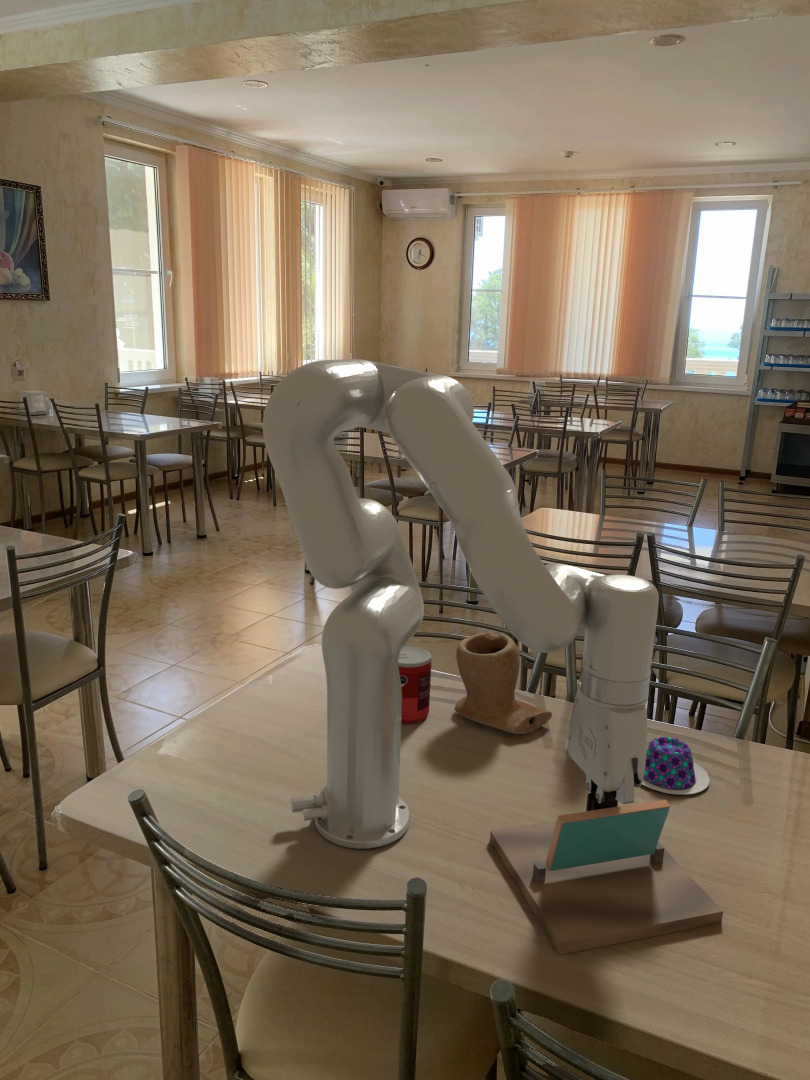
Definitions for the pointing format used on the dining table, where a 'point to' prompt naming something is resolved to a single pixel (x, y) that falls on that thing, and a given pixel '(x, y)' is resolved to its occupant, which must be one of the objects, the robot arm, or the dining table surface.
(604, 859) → the tile
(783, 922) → the dining table surface
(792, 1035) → the dining table surface
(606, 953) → the dining table surface
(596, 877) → the board
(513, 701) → the clay platform pipe
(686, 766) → the patterned brimmed hat
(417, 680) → the canned food
